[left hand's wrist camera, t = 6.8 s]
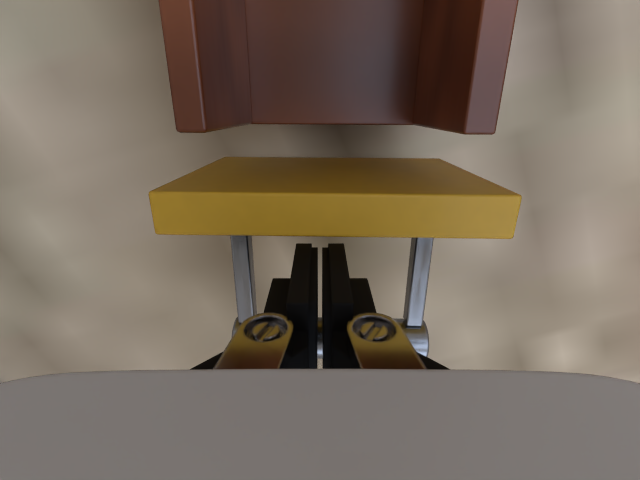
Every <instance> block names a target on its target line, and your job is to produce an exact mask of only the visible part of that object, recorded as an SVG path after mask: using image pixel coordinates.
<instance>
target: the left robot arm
mask: <svg viewBox="0 0 640 480" xmlns="http://www.w3.org/2000/svg"><path fill="white" fill-rule="evenodd" d="M317 345H318V248H312V244H296V249H295V255H294V261H293V267H292V272H291V278H273V280H272V283H271V287H270V291H269V294H268V298H267V302H266V306H265V309H264V313H261V314H256V315H254V316H251V317H249V318H247V319H246V320H244V321H243V322H242V323H241V325H240V326H239V327H238V329H237V331H236V332H235V334H234V336H233V337H232V339H231V340H230V342H229V344H228V345H227V347H226V349H225V350H224V352H222V353H220V354H218V355H216V356H214V357H212V358H211V359H209V360H207V361H205V362H203V363H201V364H199V365H197V366H195V367H194V368H192V369H190V370H130V371H99V372H74V373H61V374H49V375H42V376H35V377H28V378H23V379H18V380H13V381H8V382H3V383H0V480H640V383H636V382H632V381H627V380H622V379H617V378H612V377H606V376H598V375H590V374H580V373H565V372H543V371H507V370H450V369H448V368H446V367H445V366H443V365H441V364H439V363H437V362H435V361H433V360H431V359H429V358H428V357H426V356H424V355H422V354H420V353H418V352H416V350H415V349H414V347H413V345H412V344H411V342H410V340H409V339H408V337H407V336H406V334H405V332H404V331H403V329H402V327H401V326H400V325H399V323H398V322H397V321H396V320H394V319H393V318H391V317H389V316H386V315H384V314H379V313H376V309H375V306H374V302H373V298H372V295H371V291H370V287H369V283H368V280H367V278H349V272H348V267H347V261H346V255H345V249H344V244H328V248H322V346H323V369H317Z"/></svg>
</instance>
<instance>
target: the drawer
mask: <svg viewBox="0 0 640 480" xmlns="http://www.w3.org/2000/svg"><path fill="white" fill-rule="evenodd" d="M517 5H518V0H159V7H160V14H161V21H162V29H163V36H164V43H165V51H166V58H167V65H168V73H169V80H170V88H171V95H172V102H173V110H174V117H175V124H176V130H177V131H178V132H180V133H206V132H211V131H216V130H221V129H227V128H232V127H237V126H243V125H248V124H343V125H417V126H423V127H428V128H433V129H439V130H444V131H449V132H455V133H460V134H486V135H492V134H494V133H495V131H496V125H497V119H498V114H499V108H500V102H501V96H502V91H503V85H504V79H505V74H506V68H507V62H508V57H509V51H510V45H511V40H512V34H513V28H514V22H515V17H516V11H517ZM149 199H150V205H151V211H152V216H153V222H154V228H155V233H156V234H164V235H230V236H231V247H232V258H233V269H234V279H235V290H236V301H237V312H238V317H237V318H236V320H235V322H234V326H233V330H232V337H233V336H234V334H235V332H236V331H237V329H238V327H239V326H240V325H241V323H242V322H243V321H244V320H246V319H247V318H249V317H251V316H254V315H256V314H257V306H256V292H255V278H254V263H253V249H252V236H326V237H407V238H412V239H411V248H410V258H409V267H408V277H407V286H406V296H405V306H404V315H403V318H404V319H394V320H396V321H397V322H398V323H399V325H400V326H401V327H402V329H403V331H404V332H405V334H406V336H407V337H408V339H409V340H410V342H411V344H412V345H413V347H414V349H415V350H416V352H418V353H420V354H422V355H424V356H426V357H427V356H428V351H429V336H428V330H427V326H426V324H425V322H424V321H423V316H424V308H425V301H426V293H427V285H428V277H429V269H430V262H431V254H432V246H433V238H488V239H511V238H513V236H514V231H515V226H516V222H517V217H518V212H519V208H520V203H521V195H519V194H517V193H515V192H512V191H510V190H508V189H506V188H503V187H501V186H499V185H497V184H495V183H492V182H490V181H488V180H486V179H483V178H481V177H479V176H477V175H474V174H472V173H470V172H468V171H466V170H463V169H461V168H459V167H457V166H454V165H452V164H450V163H448V162H446V161H443V160H441V159H423V158H290V157H224V158H222V159H219V160H217V161H215V162H213V163H211V164H209V165H206V166H204V167H202V168H200V169H198V170H196V171H193V172H191V173H189V174H187V175H185V176H183V177H180V178H178V179H176V180H174V181H172V182H169V183H167V184H165V185H163V186H161V187H159V188H156V189H154V190H152V191H150V192H149ZM317 358H319V359H323V346H322V317H318V345H317Z"/></svg>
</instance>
